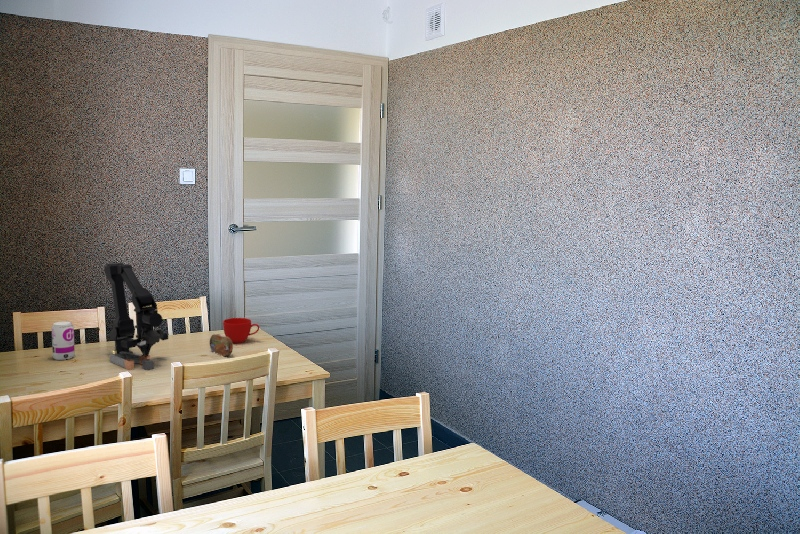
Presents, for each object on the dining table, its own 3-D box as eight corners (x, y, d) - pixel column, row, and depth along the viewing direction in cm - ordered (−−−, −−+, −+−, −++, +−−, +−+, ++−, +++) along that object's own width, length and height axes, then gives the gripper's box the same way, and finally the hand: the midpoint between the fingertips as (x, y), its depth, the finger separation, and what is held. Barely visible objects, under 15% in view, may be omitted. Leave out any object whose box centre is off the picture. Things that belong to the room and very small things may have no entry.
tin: (209, 351, 302) (208, 332, 301) (215, 349, 304) (215, 331, 303) (227, 358, 292) (227, 339, 291) (234, 357, 294) (234, 338, 293)
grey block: (142, 367, 274) (141, 360, 273) (148, 366, 276) (148, 358, 276) (147, 370, 271) (147, 362, 271) (154, 368, 274) (153, 360, 273)
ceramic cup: (256, 345, 313) (256, 324, 312) (219, 344, 313) (219, 323, 312) (262, 338, 326) (262, 318, 325) (227, 337, 326) (227, 317, 325)
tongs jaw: (119, 360, 283) (118, 352, 282) (122, 359, 284) (121, 351, 284) (147, 364, 278) (147, 356, 277) (150, 363, 280) (150, 355, 279)
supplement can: (79, 357, 286) (77, 322, 284) (62, 361, 279) (60, 326, 277) (65, 354, 289) (64, 320, 287) (48, 358, 282) (47, 323, 280)
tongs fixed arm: (107, 360, 282) (107, 351, 282) (115, 359, 285) (114, 349, 284) (129, 370, 271) (129, 360, 270) (137, 368, 273) (137, 358, 273)
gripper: (133, 330, 267) (136, 368, 270) (174, 321, 282) (177, 357, 284) (118, 326, 274) (121, 363, 277) (159, 317, 289) (162, 353, 291)
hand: (146, 359), depth 282 cm, fingers closed
